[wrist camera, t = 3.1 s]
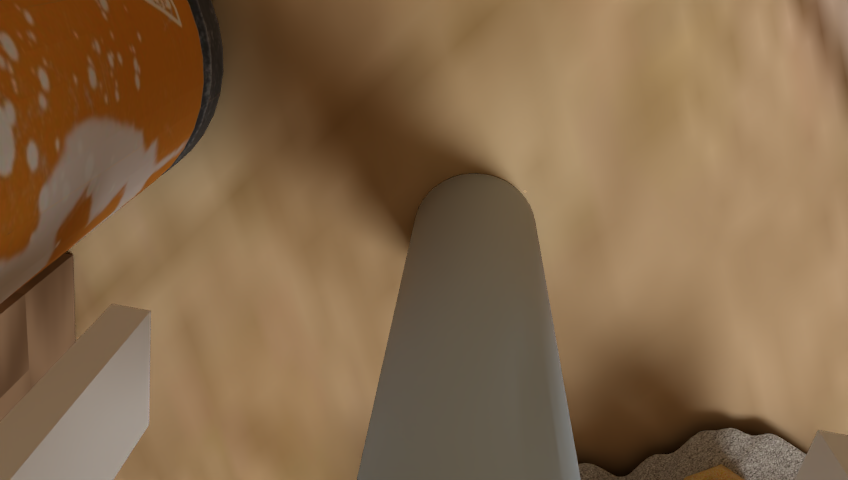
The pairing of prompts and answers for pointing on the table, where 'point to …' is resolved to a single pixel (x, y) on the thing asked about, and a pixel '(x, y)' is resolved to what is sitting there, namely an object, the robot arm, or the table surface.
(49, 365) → the hollow walnut box
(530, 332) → the dowel
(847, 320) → the table surface
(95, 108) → the canister
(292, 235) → the table surface
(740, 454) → the candy landscape model
